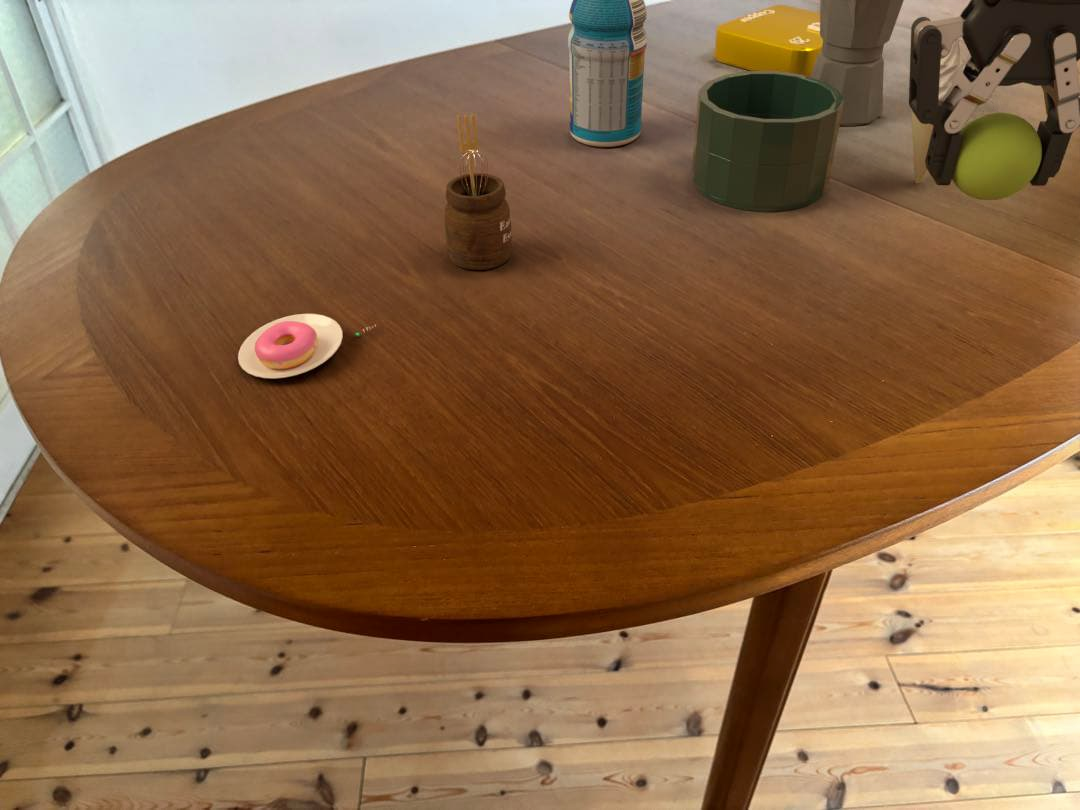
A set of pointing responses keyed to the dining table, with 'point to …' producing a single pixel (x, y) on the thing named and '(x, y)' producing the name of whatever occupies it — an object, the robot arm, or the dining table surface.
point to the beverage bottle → (606, 70)
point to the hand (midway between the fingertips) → (987, 179)
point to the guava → (997, 156)
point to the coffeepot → (855, 53)
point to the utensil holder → (476, 213)
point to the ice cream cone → (947, 73)
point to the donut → (290, 346)
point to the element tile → (771, 40)
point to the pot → (765, 140)
